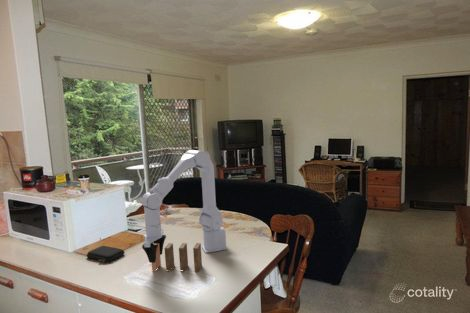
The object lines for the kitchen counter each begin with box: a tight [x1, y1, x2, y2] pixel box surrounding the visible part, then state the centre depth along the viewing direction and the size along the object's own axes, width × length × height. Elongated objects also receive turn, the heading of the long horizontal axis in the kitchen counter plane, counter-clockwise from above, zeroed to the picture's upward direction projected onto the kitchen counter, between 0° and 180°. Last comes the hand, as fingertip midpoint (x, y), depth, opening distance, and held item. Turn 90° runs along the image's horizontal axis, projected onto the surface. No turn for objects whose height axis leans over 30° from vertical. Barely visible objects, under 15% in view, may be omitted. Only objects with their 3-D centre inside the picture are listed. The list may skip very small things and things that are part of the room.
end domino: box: [151, 243, 162, 271], centre depth 125 cm, size 2×5×9 cm, turn 172°
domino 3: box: [192, 242, 203, 273], centre depth 123 cm, size 2×5×9 cm, turn 173°
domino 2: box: [178, 242, 189, 272], centre depth 124 cm, size 2×5×9 cm, turn 173°
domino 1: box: [163, 242, 175, 271], centre depth 124 cm, size 2×5×9 cm, turn 173°
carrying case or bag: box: [86, 245, 125, 263], centre depth 139 cm, size 11×3×15 cm
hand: (155, 258), depth 125 cm, fingers open, 6 cm apart
